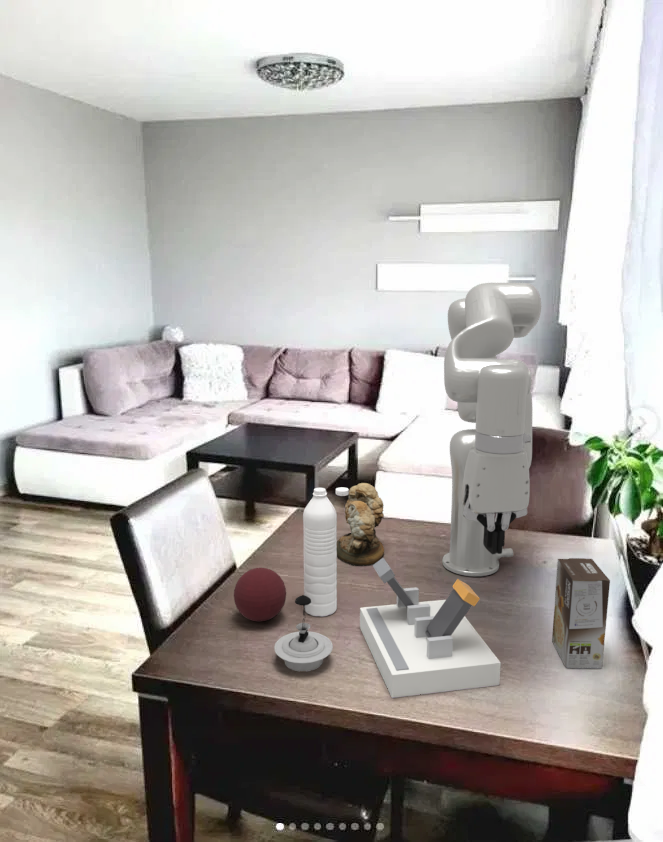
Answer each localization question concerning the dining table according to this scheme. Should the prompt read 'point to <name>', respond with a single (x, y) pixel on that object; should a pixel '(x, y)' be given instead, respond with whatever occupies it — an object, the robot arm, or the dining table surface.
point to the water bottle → (320, 553)
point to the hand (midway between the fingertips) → (493, 550)
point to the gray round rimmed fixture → (303, 645)
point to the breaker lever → (452, 610)
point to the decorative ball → (259, 594)
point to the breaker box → (425, 650)
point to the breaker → (392, 581)
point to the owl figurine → (362, 527)
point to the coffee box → (580, 612)
